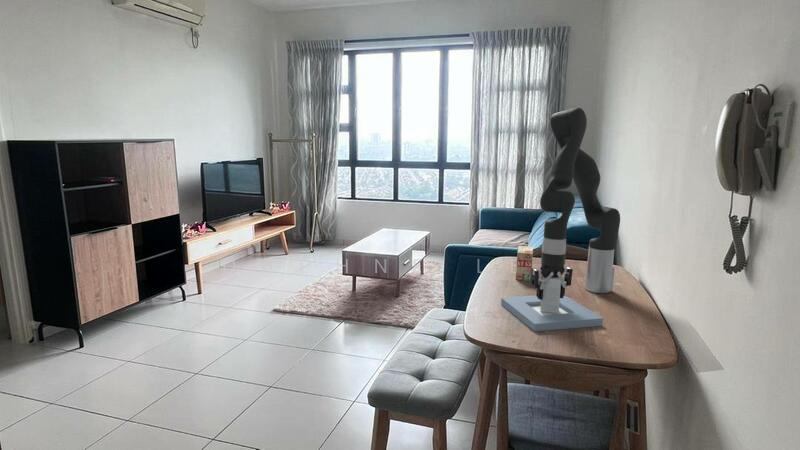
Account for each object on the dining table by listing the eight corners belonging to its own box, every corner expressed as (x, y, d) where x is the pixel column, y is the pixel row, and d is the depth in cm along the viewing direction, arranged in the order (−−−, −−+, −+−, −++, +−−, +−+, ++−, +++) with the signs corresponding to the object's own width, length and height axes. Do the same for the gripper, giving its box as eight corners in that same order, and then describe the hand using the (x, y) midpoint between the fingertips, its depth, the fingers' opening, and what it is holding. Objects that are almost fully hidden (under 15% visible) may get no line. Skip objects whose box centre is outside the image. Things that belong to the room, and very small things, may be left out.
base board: (561, 300, 171) (561, 293, 170) (602, 325, 148) (603, 318, 147) (500, 304, 166) (501, 297, 165) (534, 331, 143) (534, 323, 142)
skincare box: (558, 309, 158) (561, 275, 155) (558, 314, 154) (561, 279, 151) (540, 307, 160) (542, 274, 157) (539, 311, 156) (542, 277, 153)
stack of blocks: (517, 266, 215) (519, 241, 213) (531, 268, 213) (533, 242, 211) (515, 280, 195) (517, 251, 193) (530, 281, 193) (532, 253, 191)
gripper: (566, 247, 158) (563, 293, 161) (528, 249, 155) (525, 296, 158) (579, 252, 151) (575, 300, 154) (539, 254, 148) (536, 303, 151)
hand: (550, 298), depth 156 cm, fingers closed on skincare box, 7 cm apart
